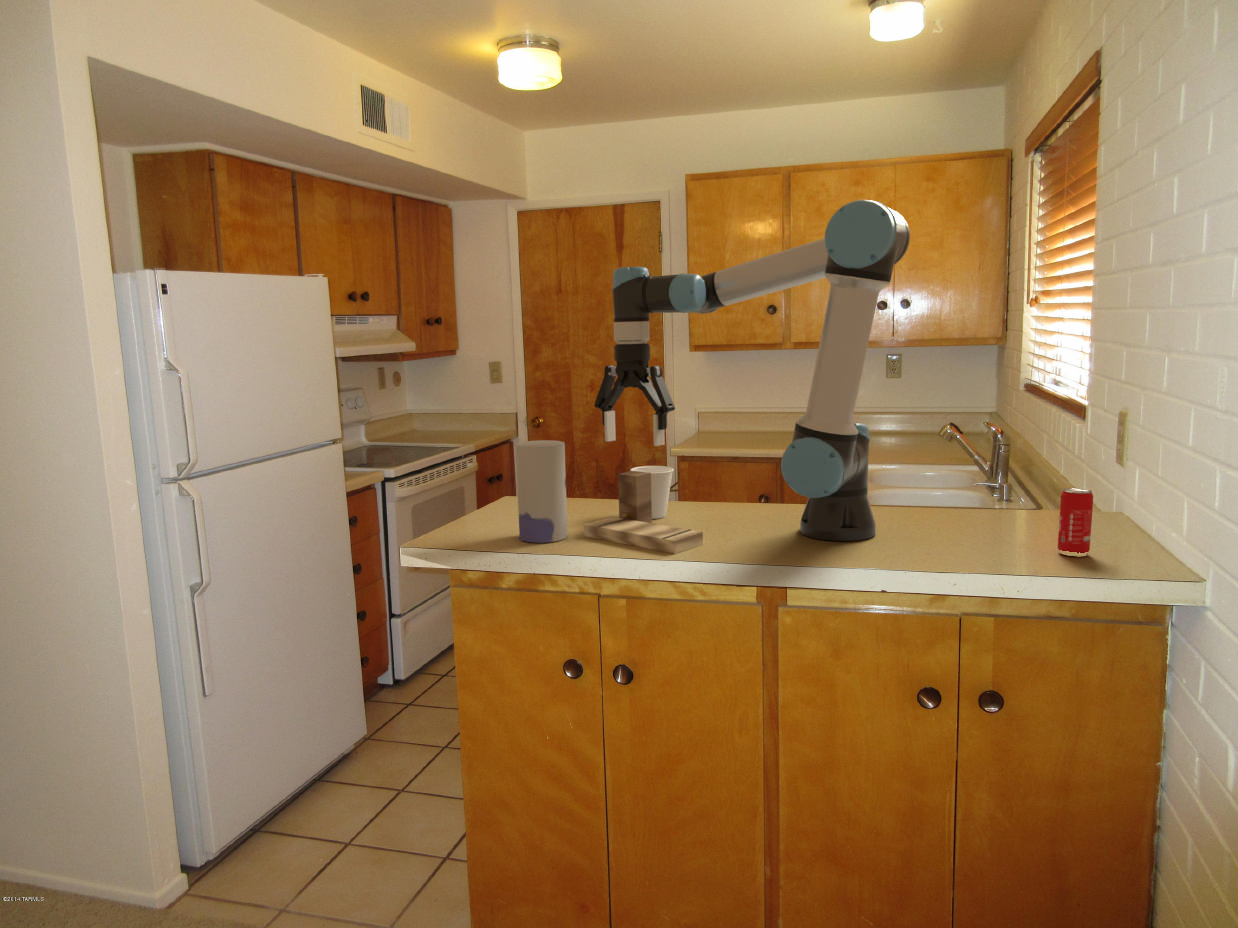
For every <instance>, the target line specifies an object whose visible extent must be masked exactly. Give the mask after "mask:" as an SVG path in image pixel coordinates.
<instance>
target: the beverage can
mask: <svg viewBox="0 0 1238 928" xmlns="http://www.w3.org/2000/svg"><path fill="white" fill-rule="evenodd" d="M1093 504H1094V495H1093V491H1092V490H1091V489H1087V488H1082V487H1081V488H1080V487H1066V488H1063V489H1062V491H1061V494H1060V505H1059V521H1058V533H1057V534H1058V535H1057V549H1058V551H1059V550H1062V551H1069V552H1077V553H1079V552H1080V553H1085V552H1088V553H1089V551H1090V549H1091V535H1092V522H1093V521H1092V520H1093V509H1094V508H1093V507H1094V505H1093Z"/></svg>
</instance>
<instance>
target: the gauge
mask: <svg viewBox="0 0 1238 928" xmlns="http://www.w3.org/2000/svg"><path fill="white" fill-rule="evenodd" d="M617 477H618V479H617V480H618V483H617V484H618V518H623V519H625V518H626V519H629V520H635V521H641V522H647V523H653V522H652V521H653V519H652V503H651V473H647V472H639V471H627V472H621V473H618V474H617Z"/></svg>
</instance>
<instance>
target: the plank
mask: <svg viewBox="0 0 1238 928" xmlns="http://www.w3.org/2000/svg"><path fill="white" fill-rule="evenodd" d="M583 533H584V534H583V535H584V537H587V538H593V539H598V540H603V541H608V542H613V543H619V544H623V545H629V546H633V545H634V546H635V547H640V548H644V549H649V550H654V551H659V552H665V553H671V554H676V555H677V554H679V553H682V552H685V551H687V550H691V549H693V548H697V547H698V546H702V545H703V544H704V531H699V530H693V529H690V528H689V529H687V528H683V527H682V528H681V527H676V526H669V525H663V524H659V523H658V524H657V523H653V522H652V523H647V522H641V521H635V520H629V519H626V518H625V519H623V518H619V517H617V516H609V517H606V518H602V519H598V520H595V521H592V522H588V523H584V524H583Z"/></svg>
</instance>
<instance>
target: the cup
mask: <svg viewBox="0 0 1238 928" xmlns="http://www.w3.org/2000/svg"><path fill="white" fill-rule="evenodd" d="M630 471H639V472H647V473H651V503H652V520H656V519H658V520H659V519H663V518H665V516H666V515H667V512H668V511H667V510H668V503H669V497H670V492H671V491H670V490H671V485H672V478H673V472H674V471H675V469H674V468H673V467H671V466H665V465H644V466H637V467H632V468H630ZM630 471H629V472H630Z"/></svg>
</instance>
